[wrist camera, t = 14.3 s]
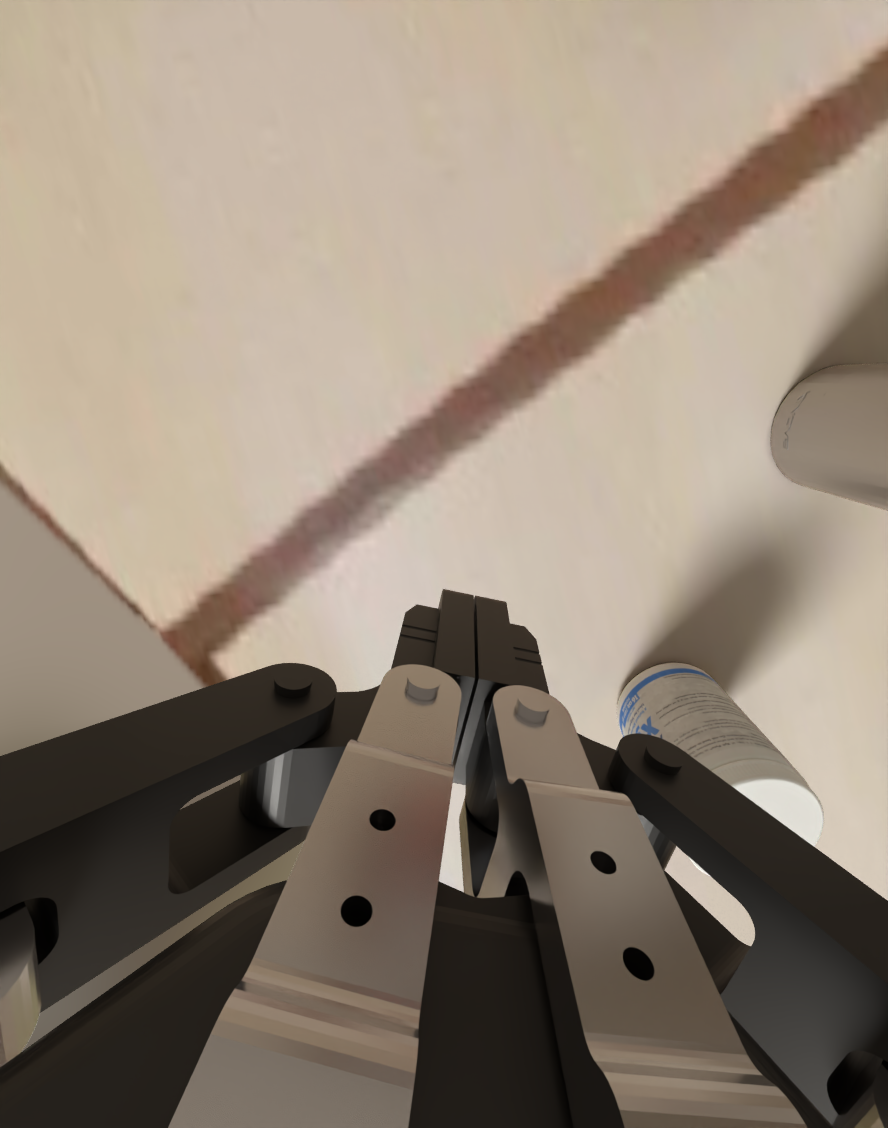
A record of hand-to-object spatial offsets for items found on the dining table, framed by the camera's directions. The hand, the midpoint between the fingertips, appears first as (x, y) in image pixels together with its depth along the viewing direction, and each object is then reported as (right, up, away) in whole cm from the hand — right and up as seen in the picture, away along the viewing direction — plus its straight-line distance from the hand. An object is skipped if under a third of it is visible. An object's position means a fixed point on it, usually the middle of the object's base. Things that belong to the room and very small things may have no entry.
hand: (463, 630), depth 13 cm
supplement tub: (+20, -11, +37) cm, 43 cm away
